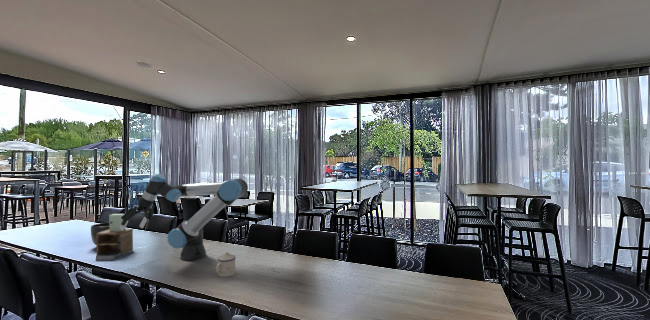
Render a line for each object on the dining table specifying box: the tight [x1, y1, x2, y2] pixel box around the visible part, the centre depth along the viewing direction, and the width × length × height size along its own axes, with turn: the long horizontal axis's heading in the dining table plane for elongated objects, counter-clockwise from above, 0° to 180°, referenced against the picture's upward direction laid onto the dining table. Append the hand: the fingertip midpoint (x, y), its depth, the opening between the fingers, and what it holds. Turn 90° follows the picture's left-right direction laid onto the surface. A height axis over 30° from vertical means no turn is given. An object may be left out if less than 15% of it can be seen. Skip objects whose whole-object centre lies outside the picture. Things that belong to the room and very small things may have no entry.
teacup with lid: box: [215, 251, 236, 278], centre depth 161 cm, size 12×9×12 cm
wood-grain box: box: [95, 228, 134, 256], centre depth 201 cm, size 16×12×15 cm
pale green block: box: [108, 213, 126, 231], centre depth 202 cm, size 8×5×11 cm, turn 90°
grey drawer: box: [95, 237, 124, 262], centre depth 191 cm, size 11×9×12 cm
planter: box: [90, 221, 109, 246], centre depth 218 cm, size 17×17×16 cm
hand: (131, 228), depth 181 cm, fingers open, 13 cm apart
